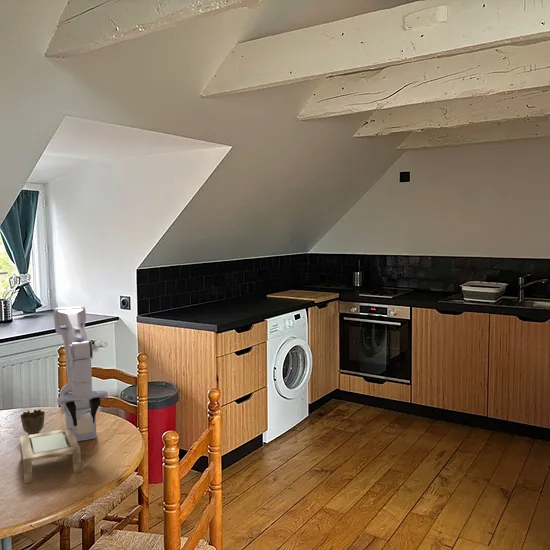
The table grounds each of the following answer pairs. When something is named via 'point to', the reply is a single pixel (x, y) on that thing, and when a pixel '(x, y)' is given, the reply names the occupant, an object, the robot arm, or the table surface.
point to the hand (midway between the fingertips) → (83, 423)
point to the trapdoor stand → (29, 456)
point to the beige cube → (84, 423)
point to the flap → (48, 443)
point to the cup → (33, 421)
